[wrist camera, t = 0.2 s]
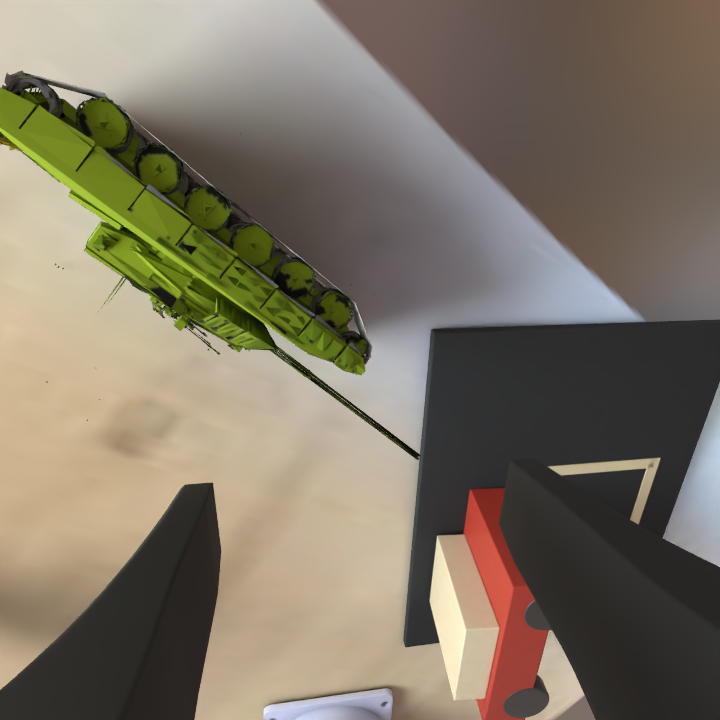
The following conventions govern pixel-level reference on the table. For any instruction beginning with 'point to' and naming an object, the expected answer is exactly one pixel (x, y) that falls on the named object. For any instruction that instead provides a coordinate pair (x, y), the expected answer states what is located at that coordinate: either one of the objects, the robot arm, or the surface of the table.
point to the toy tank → (181, 234)
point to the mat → (558, 422)
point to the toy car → (488, 617)
